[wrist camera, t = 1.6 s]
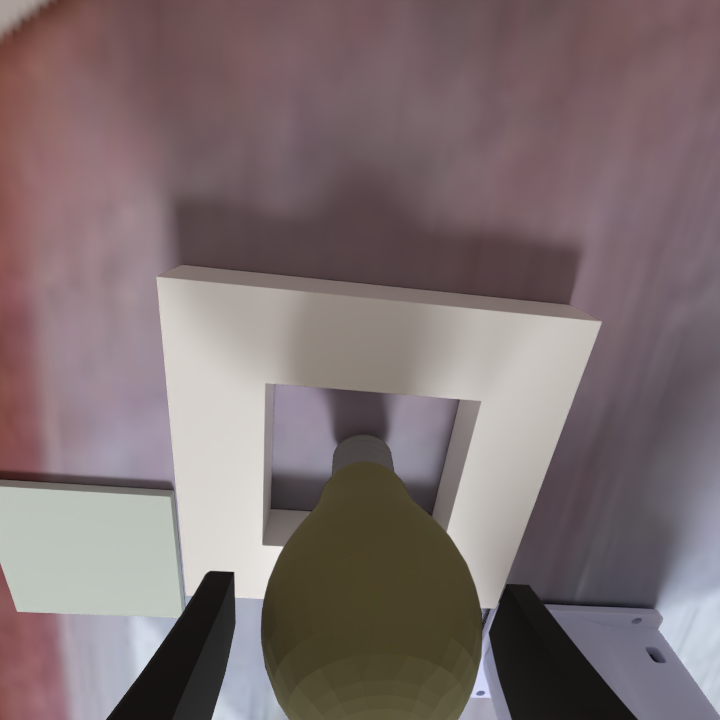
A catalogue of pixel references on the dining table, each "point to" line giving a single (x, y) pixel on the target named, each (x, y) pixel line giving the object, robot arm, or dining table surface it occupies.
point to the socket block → (360, 373)
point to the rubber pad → (91, 549)
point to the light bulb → (370, 603)
